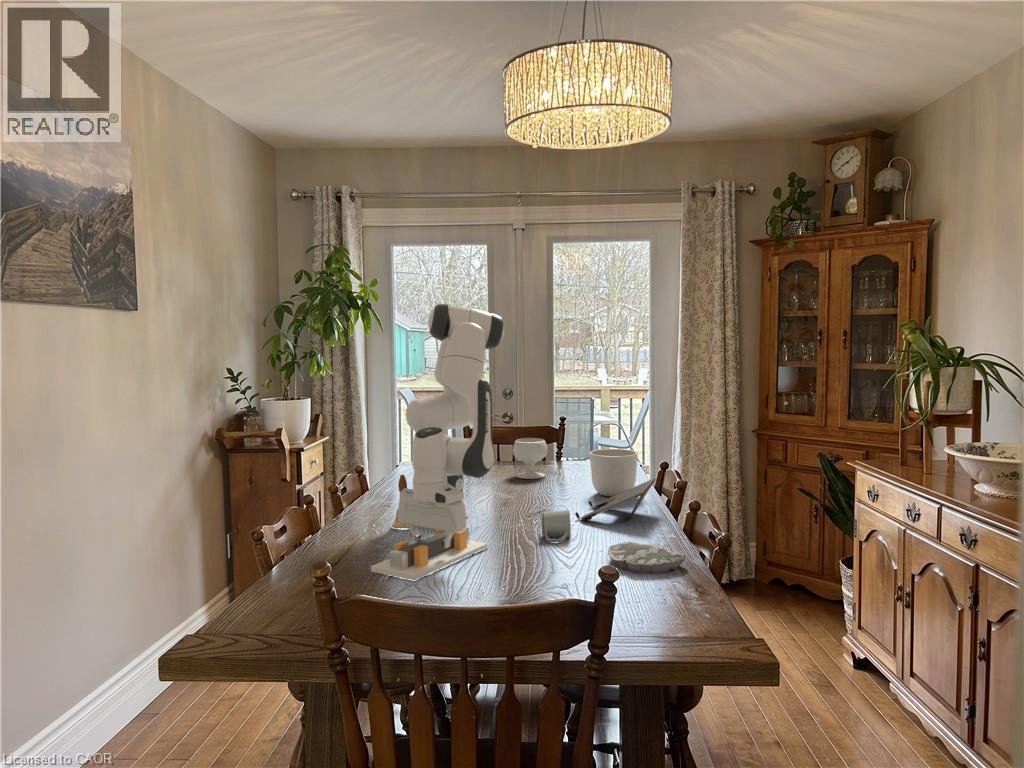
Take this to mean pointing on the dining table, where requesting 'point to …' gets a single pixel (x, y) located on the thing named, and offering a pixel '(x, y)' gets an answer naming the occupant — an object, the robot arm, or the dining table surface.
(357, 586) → the dining table surface
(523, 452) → the chalice
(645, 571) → the brain slice
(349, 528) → the dining table surface
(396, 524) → the hand bell
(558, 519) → the ceramic mug
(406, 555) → the bar
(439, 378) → the robot arm
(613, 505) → the portable electronic device stand
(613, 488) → the planter
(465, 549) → the pegged board
